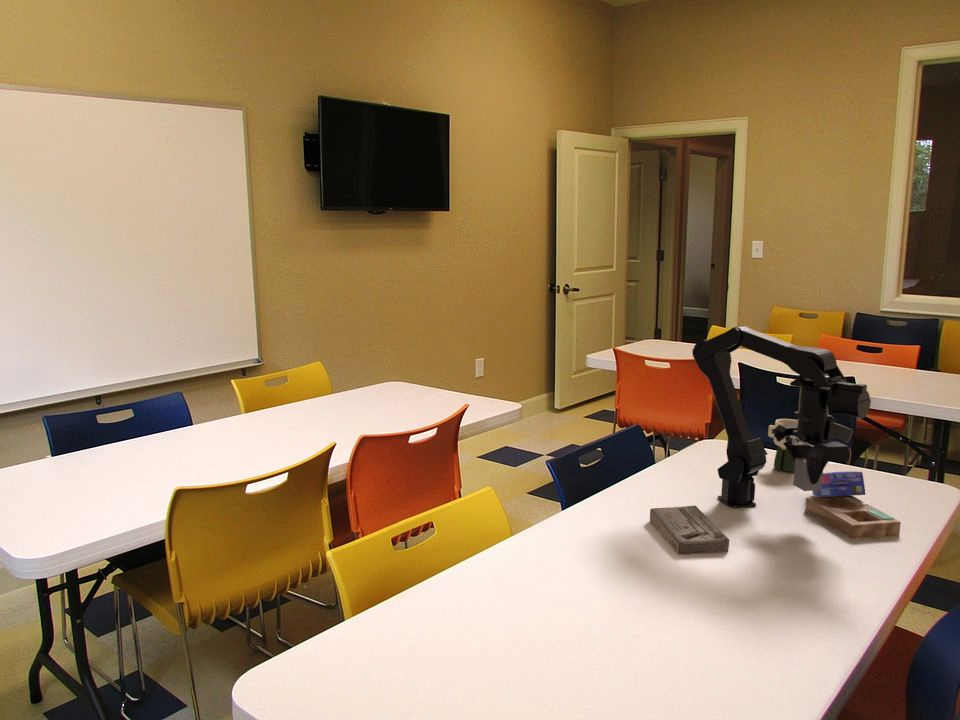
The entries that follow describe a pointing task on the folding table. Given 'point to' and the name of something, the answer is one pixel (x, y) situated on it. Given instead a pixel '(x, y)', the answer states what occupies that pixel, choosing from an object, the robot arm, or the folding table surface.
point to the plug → (804, 476)
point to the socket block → (853, 517)
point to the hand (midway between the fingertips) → (807, 480)
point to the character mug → (782, 447)
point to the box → (688, 530)
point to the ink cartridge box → (841, 484)
